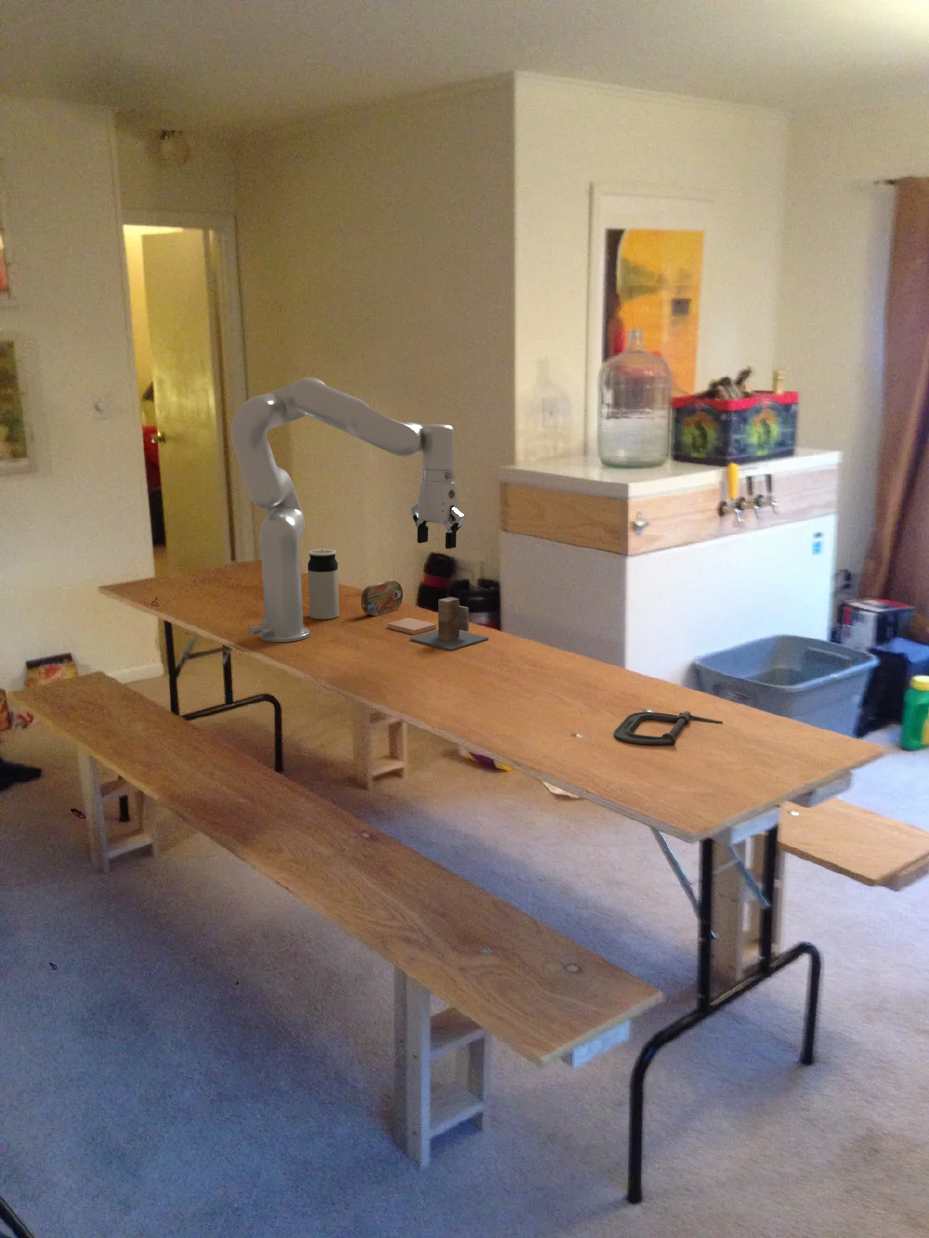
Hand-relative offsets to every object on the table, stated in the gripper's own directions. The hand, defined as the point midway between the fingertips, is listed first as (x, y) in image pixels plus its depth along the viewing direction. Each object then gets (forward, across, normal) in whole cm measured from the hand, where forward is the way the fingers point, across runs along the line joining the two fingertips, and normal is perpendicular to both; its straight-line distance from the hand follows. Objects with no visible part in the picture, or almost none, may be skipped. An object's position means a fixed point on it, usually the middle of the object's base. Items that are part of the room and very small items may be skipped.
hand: (436, 545), depth 264 cm
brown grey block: (+23, -4, -1) cm, 24 cm away
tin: (+24, +29, -9) cm, 39 cm away
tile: (+24, +11, +1) cm, 26 cm away
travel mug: (+25, +37, +5) cm, 45 cm away
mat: (+24, -4, -1) cm, 24 cm away
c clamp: (+24, -79, +17) cm, 84 cm away
